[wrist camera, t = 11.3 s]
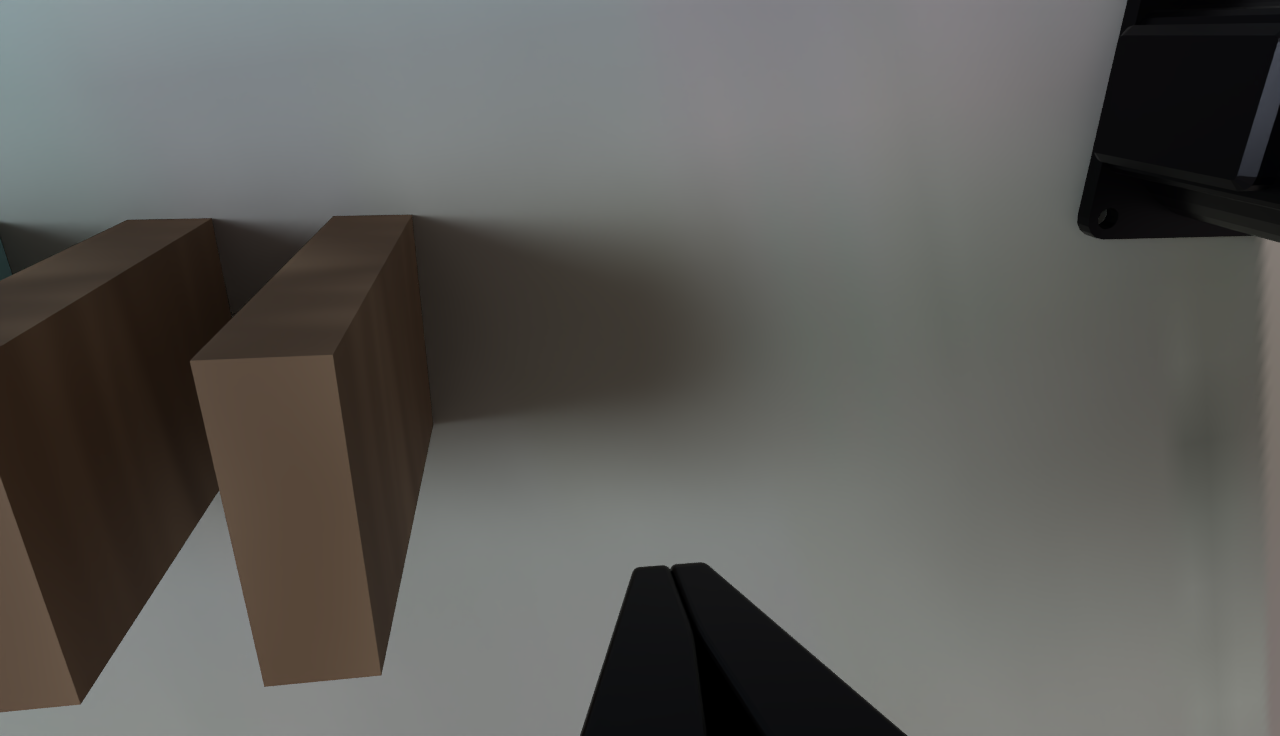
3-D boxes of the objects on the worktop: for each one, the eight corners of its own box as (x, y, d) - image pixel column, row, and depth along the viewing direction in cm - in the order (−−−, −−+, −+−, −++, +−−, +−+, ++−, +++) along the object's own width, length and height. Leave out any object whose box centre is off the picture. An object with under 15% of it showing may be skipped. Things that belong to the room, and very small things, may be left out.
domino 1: (211, 218, 16) (-37, 369, 9) (255, 434, 18) (80, 704, 11) (126, 219, 16) (-200, 376, 9) (180, 438, 18) (-49, 717, 11)
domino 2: (412, 214, 17) (332, 354, 9) (433, 424, 19) (380, 675, 11) (333, 216, 16) (188, 360, 9) (363, 428, 18) (263, 686, 11)
